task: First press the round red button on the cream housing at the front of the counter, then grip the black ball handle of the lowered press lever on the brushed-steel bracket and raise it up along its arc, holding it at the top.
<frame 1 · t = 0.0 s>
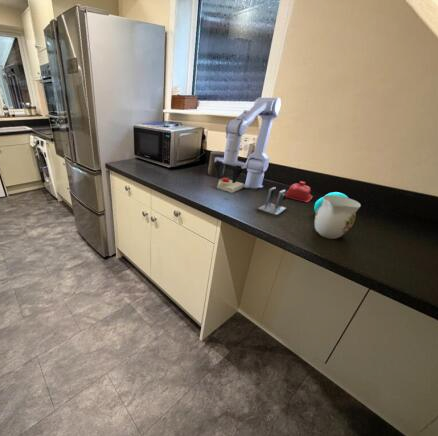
hand: (226, 180, 106), 10 cm above the counter, tool pointing down, fingers open, 7 cm apart
pitcher: (327, 233, 86), on the counter
bracket: (271, 210, 102), on the counter
pillar candle: (215, 174, 147), on the counter
button box: (230, 187, 126), on the counter
butter dish: (296, 198, 115), on the counter
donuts: (327, 217, 97), on the counter
lever: (279, 195, 102), point 6 cm above the counter, hinge at -25.0°
button: (225, 180, 124), point 4 cm above the counter, slide at 0.1 cm
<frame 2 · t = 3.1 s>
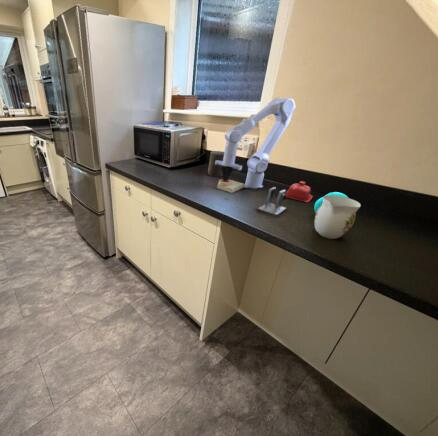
hand: (225, 180, 124), 4 cm above the counter, tool pointing down, fingers closed, pressing on button
button: (225, 181, 124), point 4 cm above the counter, slide at -0.8 cm, touching gripper
everything else where it was.
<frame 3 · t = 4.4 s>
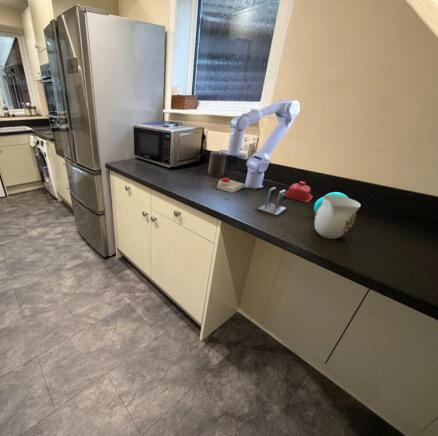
hand: (230, 170, 119), 10 cm above the counter, tool pointing down, fingers closed
button: (225, 180, 124), point 4 cm above the counter, slide at 0.1 cm
everything else where it was.
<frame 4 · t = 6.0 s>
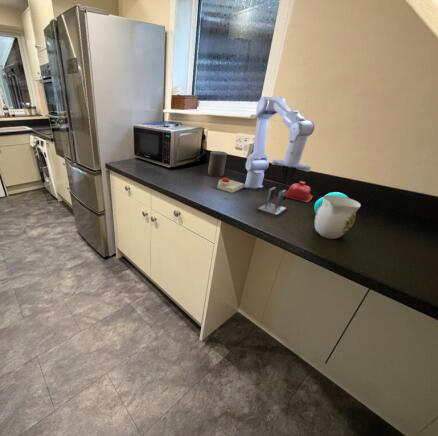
hand: (284, 183, 102), 10 cm above the counter, tool pointing down, fingers closed
nothing on the counter moved.
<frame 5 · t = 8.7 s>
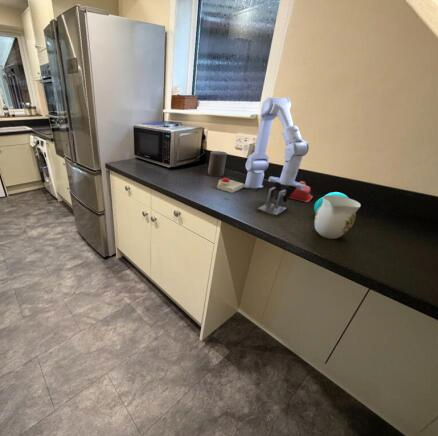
hand: (280, 200, 106), 3 cm above the counter, tool pointing down, fingers closed on lever, 3 cm apart
lever: (279, 195, 102), point 6 cm above the counter, hinge at -25.0°, touching gripper
everything else where it was.
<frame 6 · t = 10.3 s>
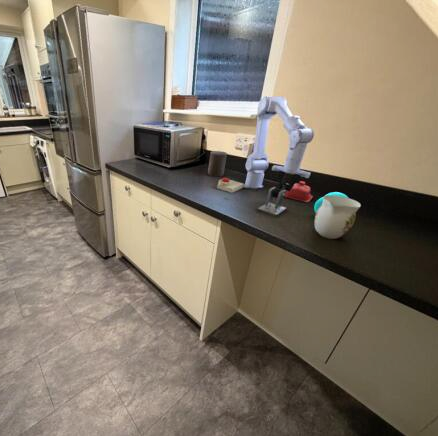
hand: (284, 189, 104), 8 cm above the counter, tool pointing down, fingers closed on lever, 3 cm apart
lever: (281, 190, 101), point 8 cm above the counter, hinge at 6.0°, touching gripper
everything else where it was.
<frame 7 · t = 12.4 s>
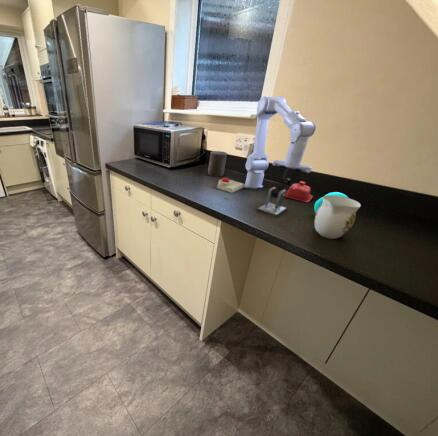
hand: (285, 184, 102), 10 cm above the counter, tool pointing down, fingers closed on lever, 3 cm apart
lever: (281, 187, 100), point 10 cm above the counter, hinge at 21.3°, touching gripper
everything else where it was.
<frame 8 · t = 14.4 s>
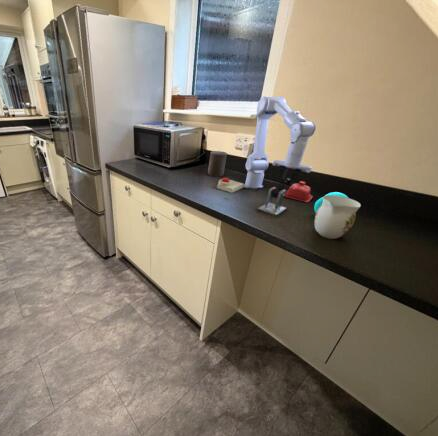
hand: (285, 184, 102), 10 cm above the counter, tool pointing down, fingers closed on lever, 3 cm apart
lever: (281, 187, 100), point 10 cm above the counter, hinge at 21.3°, touching gripper
everything else where it was.
at the end: button pushed in 1.2 cm at the most during the clip, back to where it started at the end; button slide at 0.1 cm; lever at +21° (first picture: -25°) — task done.
